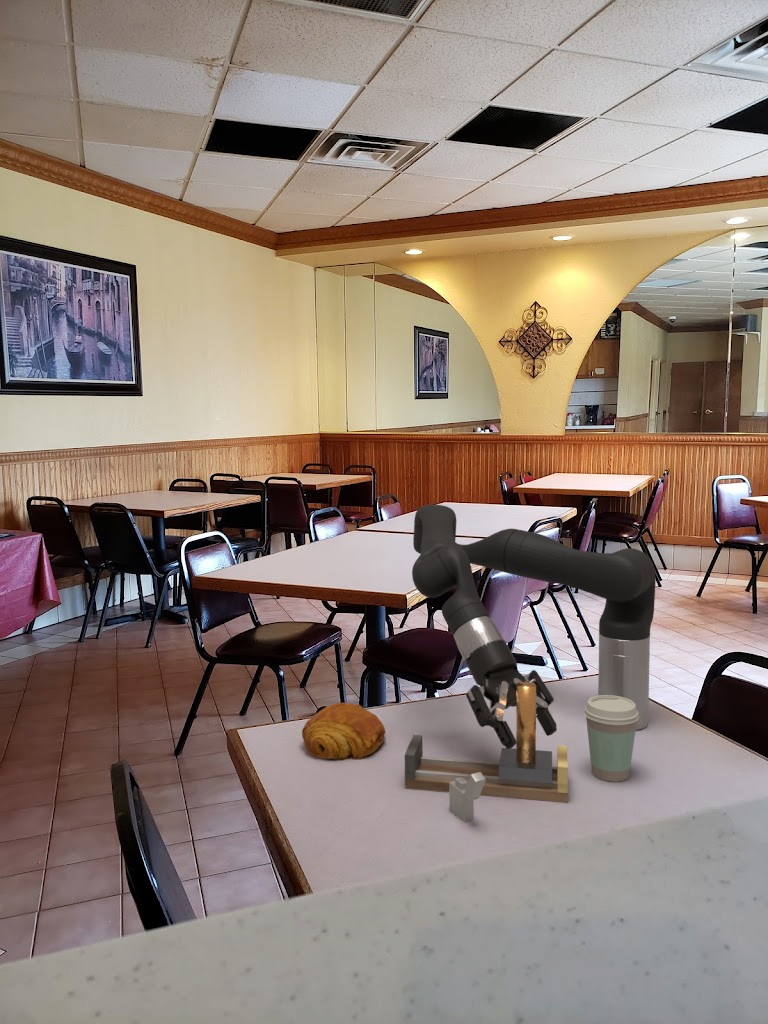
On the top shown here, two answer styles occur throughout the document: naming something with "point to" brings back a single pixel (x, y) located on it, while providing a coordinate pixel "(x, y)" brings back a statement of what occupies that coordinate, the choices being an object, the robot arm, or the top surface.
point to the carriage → (525, 743)
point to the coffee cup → (611, 735)
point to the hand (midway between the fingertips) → (532, 739)
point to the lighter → (465, 795)
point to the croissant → (343, 732)
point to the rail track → (443, 771)
